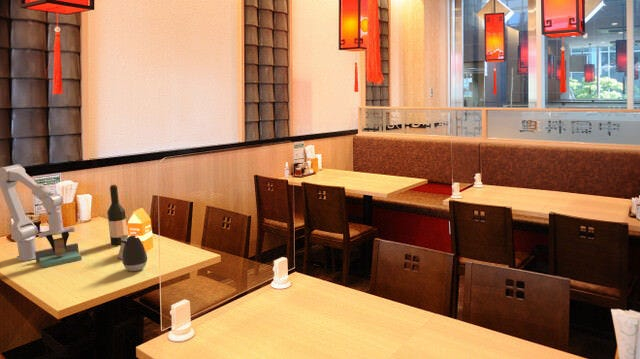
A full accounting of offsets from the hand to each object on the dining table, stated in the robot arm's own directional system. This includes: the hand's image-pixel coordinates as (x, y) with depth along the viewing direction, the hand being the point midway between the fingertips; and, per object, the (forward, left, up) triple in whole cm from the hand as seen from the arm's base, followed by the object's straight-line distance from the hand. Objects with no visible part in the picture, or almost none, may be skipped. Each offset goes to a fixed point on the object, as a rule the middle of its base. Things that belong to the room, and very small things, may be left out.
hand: (59, 249), depth 234 cm
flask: (+15, +25, -6) cm, 30 cm away
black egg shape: (+35, +23, -6) cm, 42 cm away
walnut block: (0, 0, -2) cm, 2 cm away
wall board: (-1, 0, -5) cm, 5 cm away
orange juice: (+10, +34, -6) cm, 36 cm away
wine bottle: (-9, +29, -6) cm, 31 cm away
